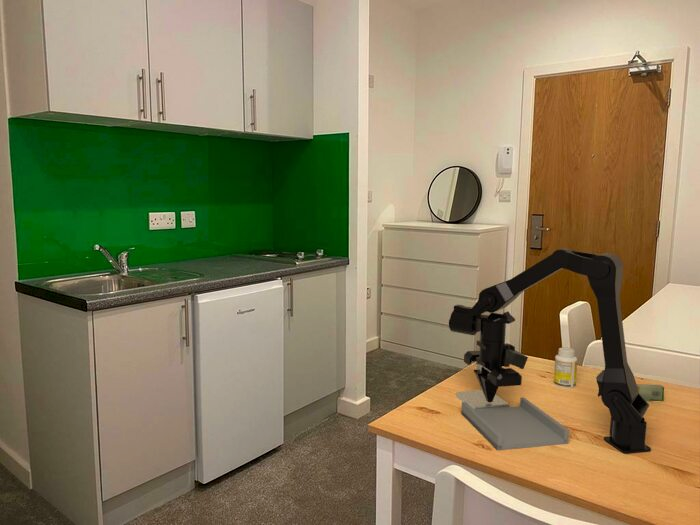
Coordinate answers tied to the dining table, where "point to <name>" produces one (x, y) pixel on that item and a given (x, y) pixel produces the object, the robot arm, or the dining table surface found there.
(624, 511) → the dining table surface
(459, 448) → the dining table surface
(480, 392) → the cover plate
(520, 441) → the slide box
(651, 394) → the medication box
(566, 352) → the supplement bottle
